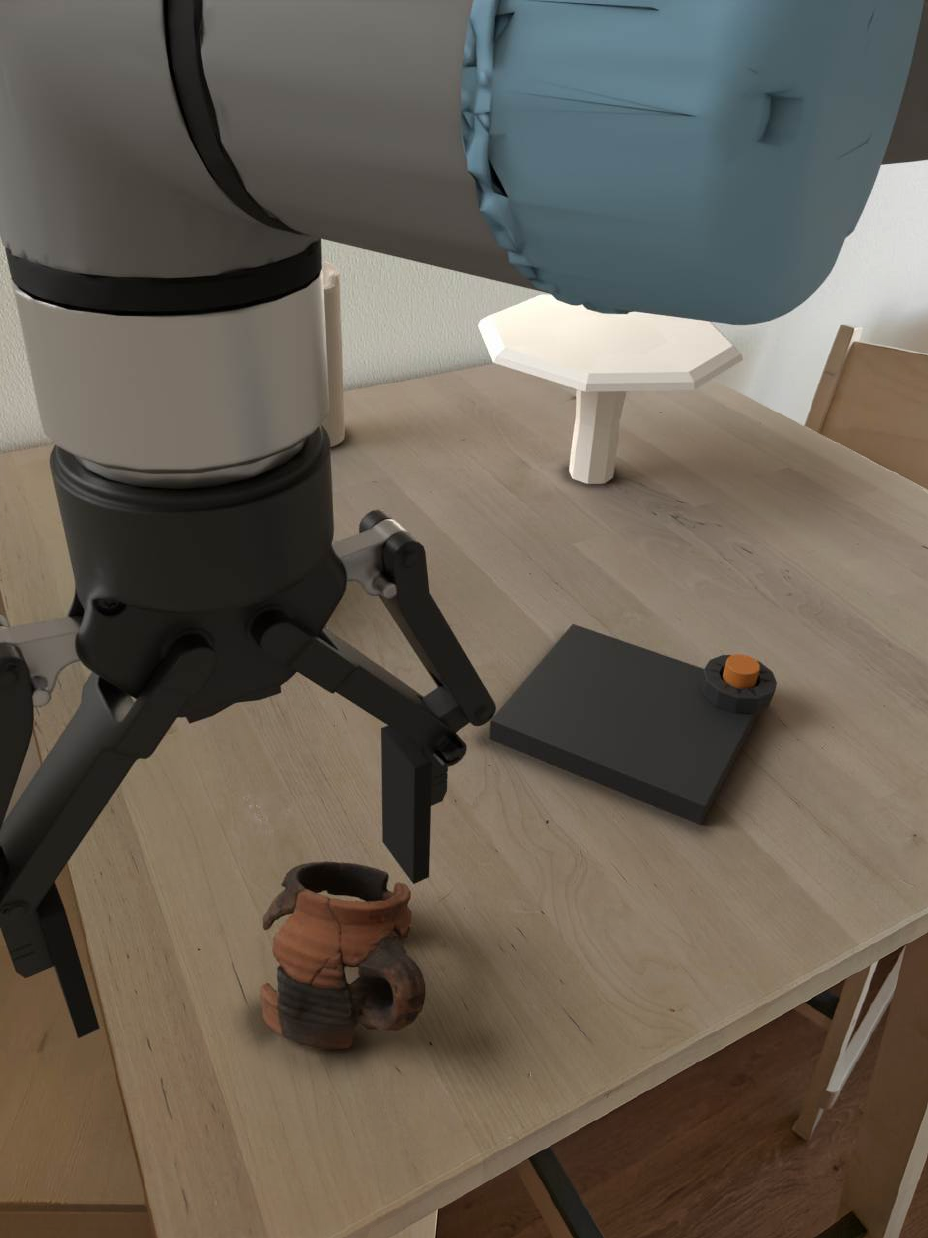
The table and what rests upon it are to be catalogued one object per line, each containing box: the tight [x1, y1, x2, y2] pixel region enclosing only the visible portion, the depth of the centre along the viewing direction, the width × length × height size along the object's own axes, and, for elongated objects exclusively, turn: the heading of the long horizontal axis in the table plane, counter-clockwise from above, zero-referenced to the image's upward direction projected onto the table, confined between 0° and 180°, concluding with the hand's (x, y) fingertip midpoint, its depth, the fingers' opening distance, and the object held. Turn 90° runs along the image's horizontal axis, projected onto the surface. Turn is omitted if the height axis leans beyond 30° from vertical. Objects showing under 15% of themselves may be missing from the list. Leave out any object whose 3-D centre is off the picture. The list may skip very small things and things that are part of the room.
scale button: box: [723, 653, 760, 689], centre depth 79 cm, size 3×3×2 cm
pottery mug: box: [259, 861, 427, 1050], centre depth 58 cm, size 12×10×8 cm
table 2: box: [477, 294, 744, 485], centre depth 110 cm, size 28×28×17 cm
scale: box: [488, 623, 778, 825], centre depth 79 cm, size 18×16×4 cm
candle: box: [321, 259, 346, 448], centre depth 113 cm, size 7×14×20 cm, turn 105°
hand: (254, 927), depth 40 cm, fingers open, 13 cm apart
